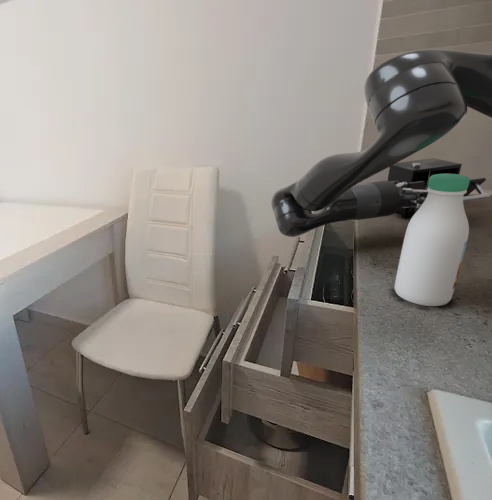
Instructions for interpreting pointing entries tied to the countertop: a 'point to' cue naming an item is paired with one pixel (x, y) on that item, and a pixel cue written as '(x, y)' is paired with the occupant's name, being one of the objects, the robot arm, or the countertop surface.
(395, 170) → the black box with rod
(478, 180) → the oven door
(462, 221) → the milk bottle
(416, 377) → the countertop surface
